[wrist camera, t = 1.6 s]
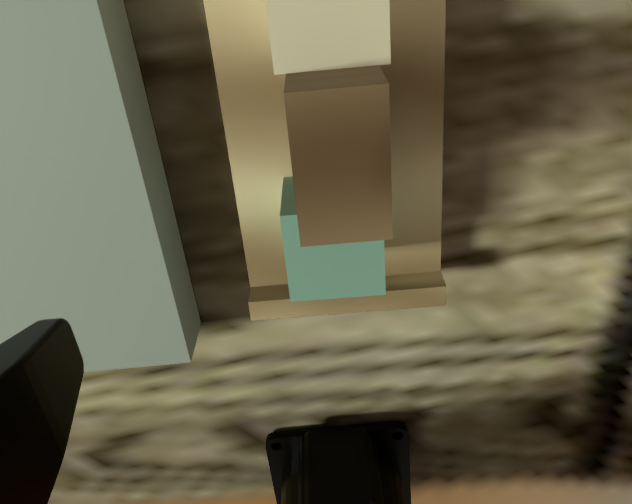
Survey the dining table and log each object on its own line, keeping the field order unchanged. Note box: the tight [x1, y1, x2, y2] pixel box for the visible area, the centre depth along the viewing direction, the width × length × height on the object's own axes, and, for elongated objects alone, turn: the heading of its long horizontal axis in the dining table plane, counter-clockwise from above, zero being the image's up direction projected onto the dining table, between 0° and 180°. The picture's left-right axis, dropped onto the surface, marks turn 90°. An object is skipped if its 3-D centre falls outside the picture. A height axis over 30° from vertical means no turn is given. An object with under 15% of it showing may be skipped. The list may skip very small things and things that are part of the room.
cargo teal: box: [280, 176, 386, 302], centre depth 19 cm, size 3×3×3 cm
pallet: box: [203, 0, 446, 321], centre depth 18 cm, size 14×7×7 cm, turn 5°
